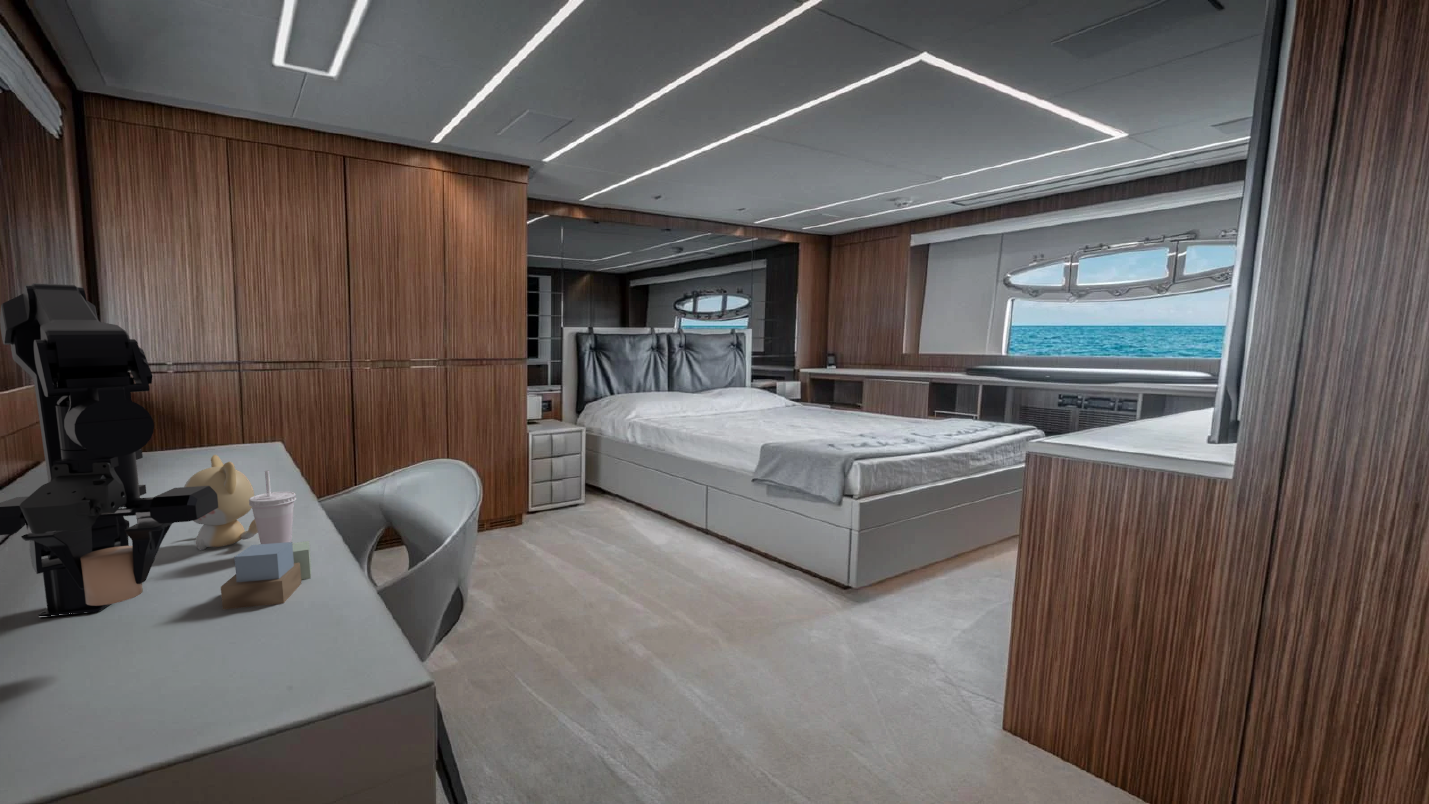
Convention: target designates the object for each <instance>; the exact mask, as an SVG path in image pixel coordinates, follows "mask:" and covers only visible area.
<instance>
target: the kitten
mask: <svg viewBox="0 0 1429 804" xmlns="http://www.w3.org/2000/svg"><path fill="white" fill-rule="evenodd" d="M210 463H211V464H210V465H211V466H210V467H207V468H204V469H202V470H200V471H198V472H196V473H194V474H193V475H192V476H190V477H189V479H188V480H187V481H186V482H185V484H184V486H183V487H196V486H210V487H211V488H212V489H213V490H214V491H215V492H216V493H217V498H218V508H217V509H215V510H213V511H211V512H210V513H208V514H206V515H204V516H203V517H201V518H199V519H197V520H193V521H192V522H194V523H196V524H197V525H202V526H201V527H200V529H199V530H198V534H197V535H196V538H195V546H196V548H197V549H198V550H199V551H204V550H206V548H220V547H225V546H230V545H234V544H237V543H238V542H240V541H241V540H249V539H250V538H253V537H254V536H256V534H257V535H258V531H257V527H256V522H255V518H253V520H252V521H251V522H250V525H249V526H248V530H245V528H244V526H243V524H242V523H241V522H240V521H239V519H241V518H243V516H245V515H247V514H248V513H249V512H250V511H252V506H249V499H250V498H251V497H253V496H255V491H254V488H253V485H252V483H251V481H250V480H249V479H248V477H247V476H246V475H245V474H244V473H243V472H242V471H240V470H237V469H236V467H235V464H234V463H233V462H232V461H227V462H225V463H223V460H222V459H221V458H220V456H219V455H218V454H213V455H212V456H211V458H210Z"/></svg>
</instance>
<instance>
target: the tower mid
mask: <svg viewBox="0 0 1429 804" xmlns="http://www.w3.org/2000/svg"><path fill="white" fill-rule="evenodd" d="M292 543H293V542H292V541H291V542H286V543H272V544H261V543H260V544H251V545H250V546H248V547H247V548H245V549H244V550H242V551H241V552H239V553H238V554H237V555H235V556H234V557H233V558H234V569H235V574H236V582H247V581H259V580H271V579H279V578H281V577H282V576H283V575H284V574H285V573H286V572H287V571H289V570H290V569H291V568H292V567H293V566H294V560H293V546H292Z"/></svg>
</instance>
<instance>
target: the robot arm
mask: <svg viewBox="0 0 1429 804" xmlns="http://www.w3.org/2000/svg"><path fill="white" fill-rule="evenodd" d="M0 333H1V340H2V343H3V345H4V346H5V345H6V346H7V345H8V346H9V345H10V349H11V351H10V352H11V356H12V360H13V361H14V362H15V363H16V364H17V365H18V366H19V367H20V368H22V370H24V371H25V372H26V373H27V374H28V375H29V376H30V377H31V378H32V380H33V384H34V393H35V398H36V404H37V405H36V407H37V413H38V418H39V425H40V426H39V427H40V433H41V441H42V446H43V447H42V448H43V454H44V455H43V456H44V461H45V467H46V475H47V483H44V484H42V485H41V486H40V487H38V488H37V489H36V490H35V491H33V492H32V493H31V494H30V495H29V496H18V497H17V496H16V497H13V498H11V499H7V500H4V501H1V502H0V536H9V535H14V534H16V533H18V532H19V531H21V530H22V528H23V527H25V531H26V534H23V535H21V536H20V537H21V539H22V540H24V541H27V542H29V555H30V561H31V566H32V569H33V570H34V572H35V574H36V575H39V574H42V577H43V585H44V592H45V593H44V594H45V602H46V603H45V604H46V608H45V609H44V610H42V611H40V612H39V613H38V615H37V616H51V615H59V614H69V613H70V614H71V613H72V615H74V614H73V613H82V614H85V613H84V612H92V613H98V612H101V611H103V610H104V609H106V608H107V607H109V606H110V605H111V604H107V605H97V606H92V605H87V604H86V600H85V591H84V582H83V574H82V565H81V557H82V556H83V555H85V554H88V553H91V552H94V551H97V550H102V549H106V548H112V547H119V546H130V545H129V544H130V543H129V539H130V540H131V543H132V545H131V546H132V548H133V568H134V576H135V580H136V583H137V584H141V583H142V584H143V583H144V582H146V581H147V578H148V577H149V574H150V571H151V569H152V566H153V564H154V561H155V559H156V557H157V554H158V551H159V549H160V547H161V544H162V542H163V541H164V539H165V537H166V535H167V533H168V532H169V530H170V528H171V526H172V525H173V524H175V523H187V522H194V521H193V520H197V519H199V518H201V517H203V516H204V515H206V514H208V513H210V512H211V511H213V510H215V509H217V508H218V498H217V493H216V492H215V491H214V490H213V489H212V488H211V487H210V486H196V487H184V486H183V487H174V488H172V489H169V490H167V491H164V492H162V493H159V494H158V495H156V496H152V497H150V496H149V497H141V496H143V495H146V494H147V487H146V484H139V483H140V482H139V477H138V475H139V474H138V464H137V460H140V459H143V457H144V455H143V449H142V448H143V447H145V446H146V445H147V444H148V443H149V442H150V440H151V438H152V436H153V434H154V432H155V430H154V429H155V423H154V419H153V418H152V416H151V414H150V412H149V411H148V410H147V409H146V408H145V407H144V406H143V405H141V404H139V403H137V402H135V401H133V400H132V393H139V392H140V393H142V392H143V393H144V392H149V391H150V385H152V383H153V373H152V371H151V370H152V369H151V368H150V365H149V363H148V358H147V356H146V354H145V351H144V349H143V348H142V347H140V346H139V344H138V343H139V342H138V341H137V340H136V339H135V338H130V336H129V334H128V332H127V331H126V330H125V329H124V328H122V327H121V326H119V325H118V324H113V323H109V322H107V323H106V322H101V321H100V320H99V318H98V315H97V309H96V305H95V304H93V303H91V302H90V301H88V300H87V295H86V290H85V289H84V287H82V286H79V287H78V286H77V285H75V284H61V283H60V284H58V283H37V282H36V283H31V284H27V285H24V287H23V293H22V294H19V295H17V296H15V297H13V298H11V299H9V300H7V301H4V302H3V303H2V304H0ZM131 375H132V376H131ZM133 516H135V518H136V522H137V523H135V524H134V525H131V526H130V521H129V520H128V519H125V517H133ZM43 557H46V558H43ZM97 611H98V612H97Z"/></svg>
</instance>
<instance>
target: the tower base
mask: <svg viewBox="0 0 1429 804" xmlns="http://www.w3.org/2000/svg"><path fill="white" fill-rule="evenodd" d="M301 585H302V580H301V570H300V563H294V566H293V567H292V568H291V569H290V570H289V571H287V572H286V573H285V574H284V575H283V576H282V577H281V578H279V579H271V580H259V581H247V582H236V573H235V574H234V575H233V576H232V577H230V578H229V579H228V580H227V581H225V583H223V584H222V585H221V586H220V593H221V594H220V595H221V604H222V606H221V607H222V611H224V610H234V609H241V608H251V607H259V606H260V607H261V606H270V605H271V606H272V605H280V604H281V605H282V604H284V603H286V601H288V599H289V598H290V597H291V596H292V595H293V594H294V592H295V591H297V589H298V588H299V587H300V586H301Z"/></svg>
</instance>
